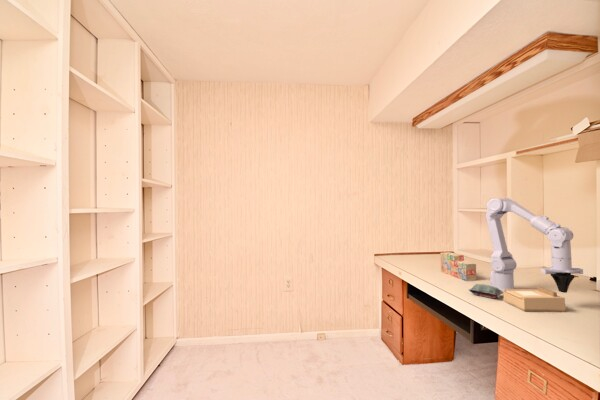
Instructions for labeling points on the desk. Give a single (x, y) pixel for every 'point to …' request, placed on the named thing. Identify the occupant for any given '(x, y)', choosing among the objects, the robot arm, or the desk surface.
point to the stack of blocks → (457, 266)
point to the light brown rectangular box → (535, 302)
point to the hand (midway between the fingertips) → (562, 291)
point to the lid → (533, 293)
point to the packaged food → (486, 291)
